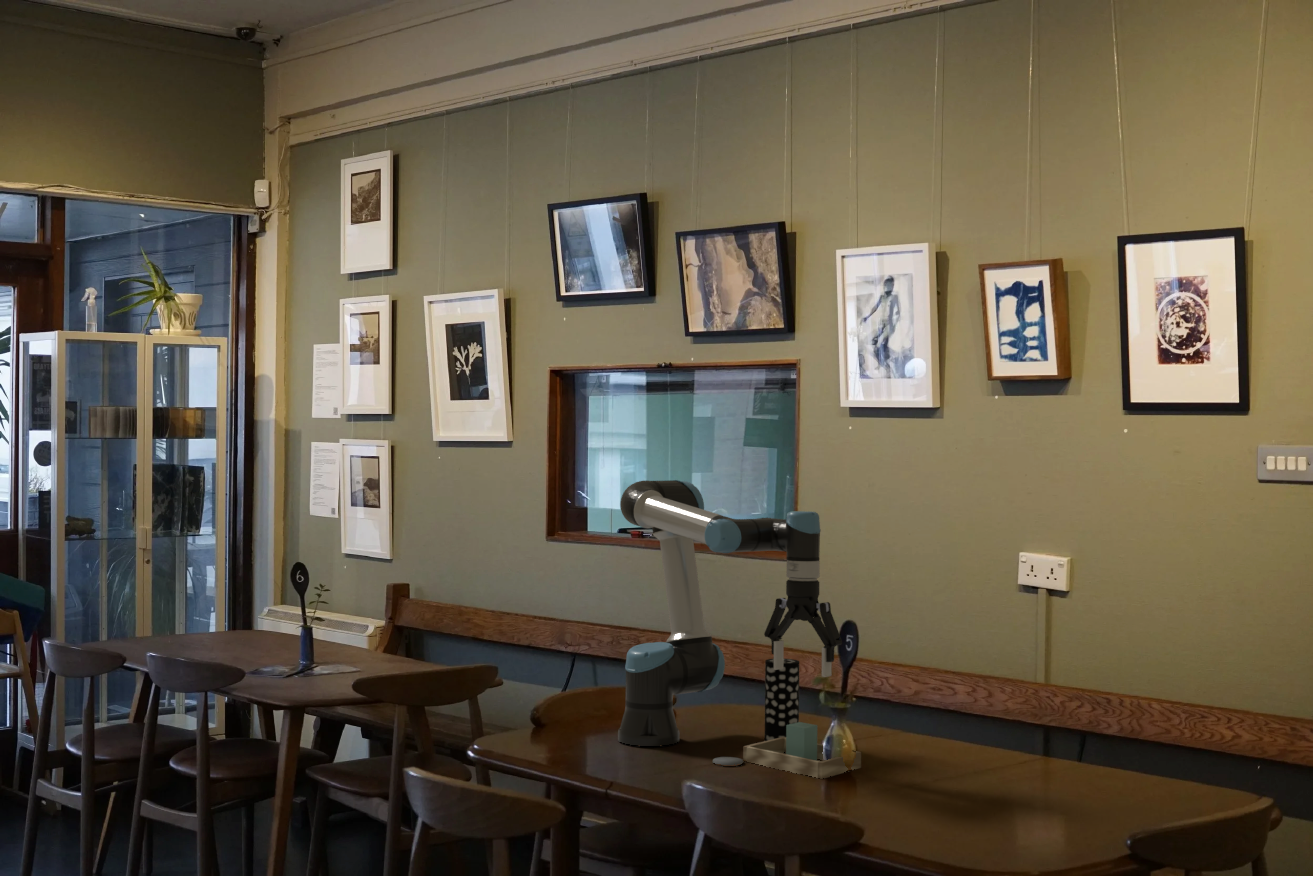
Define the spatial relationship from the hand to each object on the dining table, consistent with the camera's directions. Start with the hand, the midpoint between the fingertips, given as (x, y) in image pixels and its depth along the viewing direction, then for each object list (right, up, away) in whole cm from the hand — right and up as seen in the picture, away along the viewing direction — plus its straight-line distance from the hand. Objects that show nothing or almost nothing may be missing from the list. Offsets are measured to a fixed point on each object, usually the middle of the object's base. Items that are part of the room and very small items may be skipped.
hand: (802, 673), depth 284 cm
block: (0, -21, 0) cm, 21 cm away
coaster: (-17, -21, 0) cm, 27 cm away
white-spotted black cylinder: (-2, -22, +22) cm, 31 cm away
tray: (0, -21, 0) cm, 21 cm away
